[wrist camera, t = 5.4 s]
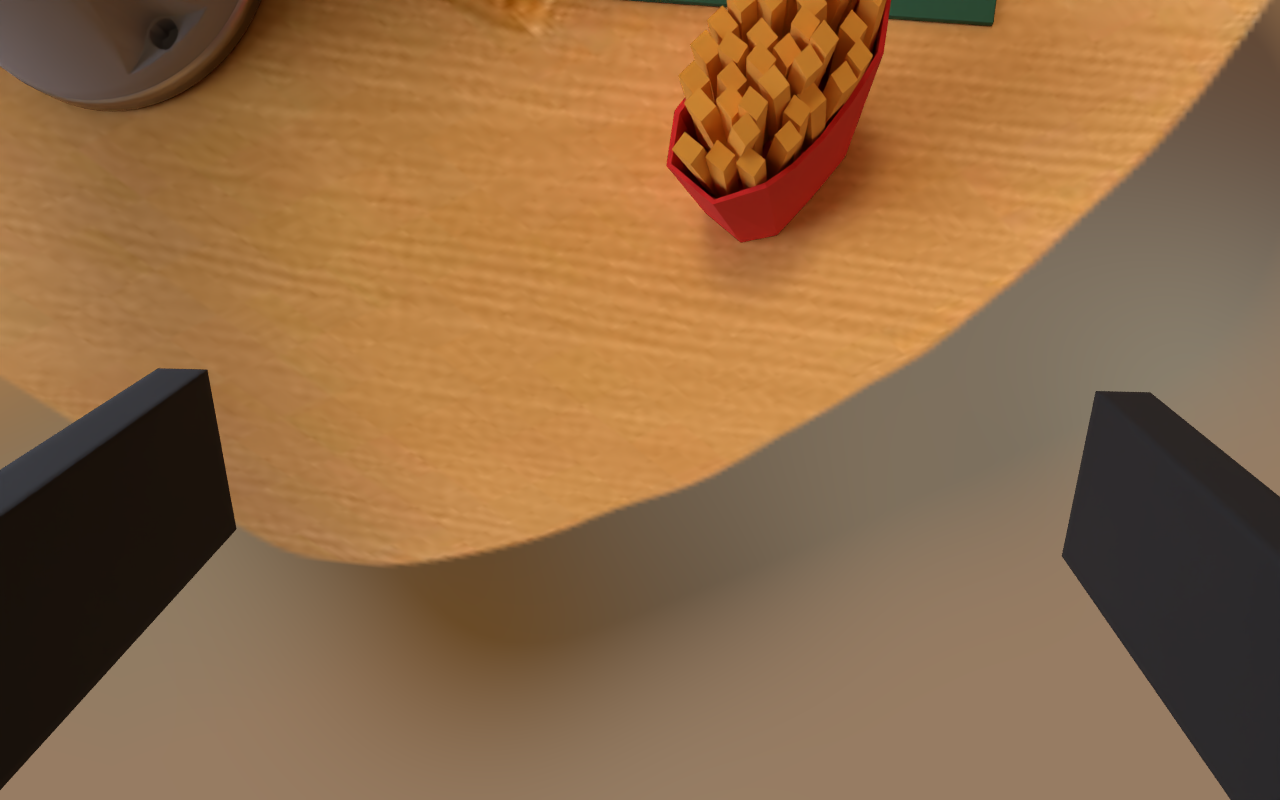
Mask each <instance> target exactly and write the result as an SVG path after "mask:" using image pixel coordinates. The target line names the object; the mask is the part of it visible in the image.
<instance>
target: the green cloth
mask: <svg viewBox="0 0 1280 800" xmlns="http://www.w3.org/2000/svg"><path fill="white" fill-rule="evenodd" d="M631 1H645V2H659V3H673V4H688V5H702V6H716V7H721V6H722V5H723V7H727V0H631ZM995 6H996V0H891V4H890V11H889V18H888V19H901V20H915V21H930V22H944V23H958V24H972V25H986V26H992V24H993V22H994V14H995Z"/></svg>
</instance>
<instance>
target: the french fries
mask: <svg viewBox="0 0 1280 800" xmlns="http://www.w3.org/2000/svg"><path fill="white" fill-rule="evenodd" d="M890 4H891V0H727V9H728V12H727V10H726V9H725V8H724V7H723V5H722V6H721V7H720V8H719V9H718V10H717V11H716V12H715V13H714V14H713V15H712V16H711V17H710V18H709V19H708V20H707V22H708V26H709V30H710V34H711V35H710V34H709V32H708V31H707V30H705V31H704V32H703V33H702V34H701V35H700V36H699V37H698V38H697V39H695V40H694V41H693V42H692V43H691V44H690V45H691V48H692V52H693V56H694V59H695V61H693V62H692V63H691V64H690V65H689V66H688V67H687V68H686V69H684V70H683V71H682V72H681V73H680V74H679V75H678V76H679V79H680V82H681V86H682V89H683V92H684V95H685V98H684V99H683V101H682V102H681V103H680V105H679V106H678V107H677V109H676V110H675V112H674V119H673V125H672V132H671V139H670V146H669V152H668V159H667V167H668V168H669V169H670V170H671V172H672V173H673V174H674V175H675V177H676V178H677V179H678V180H679V181H680V183H681V184H682V185H683V186H684V187H685V189H686V190H687V191H688V192H689V193H690V195H691V196H692V197H693V198H694V200H695V201H696V202H697V203H698V204H699V206H700V207H701V208H702V209H703V210H704V212H705V213H706V214H708V215H709V216H710V217H711V218H712V219H713V220H715V221H716V222H717V223H718V224H719V225H721V226H722V227H723V228H724V229H725V230H727V231H728V232H729V233H730V234H731V235H733V236H734V237H735V238H736V239H737V240H738V241H740V242H746V241H751V240H756V239H761V238H766V237H771V236H776V235H777V234H778V233H779V232H780V231H781V230H782V229H783V228H784V227H785V226H786V225H787V224H788V223H789V222H790V221H791V220H792V219H793V218H794V217H795V216H796V214H797V213H798V212H799V211H800V210H801V209H802V208H803V207H804V206H805V204H806V203H807V202H808V201H809V200H810V199H811V198H812V197H813V195H814V194H815V193H816V192H817V191H818V190H819V188H820V187H821V186H822V185H823V184H824V182H825V181H826V180H827V179H828V178H829V176H830V175H831V174H832V173H833V171H834V170H835V169H836V168H837V166H838V165H839V164H840V163H841V161H842V160H843V159H844V158H845V156H846V153H847V150H848V148H849V145H850V142H851V140H852V137H853V134H854V131H855V129H856V126H857V123H858V121H859V118H860V115H861V113H862V110H863V107H864V104H865V102H866V99H867V96H868V94H869V91H870V88H871V86H872V83H873V80H874V77H875V75H876V72H877V69H878V67H879V64H880V61H881V59H882V56H883V52H884V45H885V39H886V32H887V25H888V18H889V11H890Z"/></svg>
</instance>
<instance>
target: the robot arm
mask: <svg viewBox="0 0 1280 800" xmlns="http://www.w3.org/2000/svg"><path fill="white" fill-rule="evenodd" d="M260 1H261V0H0V66H1V67H2V68H3V69H5V70H6V71H8V72H9V73H10V74H12V75H13V76H15V77H16V78H18V79H19V80H21V81H22V82H24V83H25V84H27V85H29V86H31V87H33V88H35V89H37V90H39V91H41V92H43V93H45V94H47V95H49V96H52V97H54V98H56V99H58V100H60V101H63V102H66V103H68V104H71V105H74V106H78V107H82V108H86V109H93V110H102V111H120V110H131V109H137V108H142V107H146V106H150V105H153V104H157V103H159V102H162V101H164V100H167V99H169V98H172V97H174V96H176V95H178V94H180V93H182V92H184V91H185V90H187V89H188V88H190V87H192V86H193V85H195V84H196V83H198V82H199V81H200V80H202V79H203V78H204V77H206V76H207V75H208V74H209V73H211V72H212V71H213V70H214V69H215V68H216V67H217V66H218V65H219V64H220V63H221V62H222V61H223V60H224V59H225V58H226V57H227V56H228V54H229V53H230V52H231V51H232V50H233V48H234V47H235V46H236V44H237V43H238V42H239V40H240V39H241V38H242V36H243V34H244V33H245V31H246V30H247V28H248V26H249V25H250V23H251V21H252V19H253V17H254V15H255V13H256V11H257V9H258V6H259V3H260ZM235 530H236V524H235V519H234V513H233V508H232V502H231V497H230V491H229V486H228V480H227V475H226V469H225V464H224V458H223V453H222V447H221V442H220V436H219V431H218V425H217V420H216V414H215V409H214V403H213V398H212V392H211V387H210V381H209V376H208V370H201V369H160V368H158V369H156V370H155V371H153V372H152V373H150V374H149V375H147V376H145V377H144V378H142V379H141V380H139V381H138V382H136V383H135V384H133V385H131V386H130V387H128V388H127V389H125V390H124V391H122V392H121V393H119V394H117V395H116V396H114V397H113V398H111V399H110V400H108V401H107V402H105V403H103V404H102V405H100V406H99V407H97V408H96V409H94V410H93V411H91V412H89V413H88V414H86V415H85V416H83V417H82V418H80V419H79V420H77V421H75V422H74V423H72V424H71V425H69V426H68V427H66V428H65V429H63V430H62V431H60V432H58V433H57V434H55V435H54V436H52V437H51V438H49V439H47V440H46V441H44V442H43V443H41V444H40V445H38V446H37V447H35V448H34V449H32V450H30V451H29V452H27V453H26V454H24V455H23V456H21V457H19V458H18V459H16V460H15V461H13V462H12V463H10V464H9V465H7V466H5V467H4V468H2V469H1V470H0V790H1V789H2V788H3V786H4V785H5V784H6V783H7V782H8V781H9V780H10V779H11V778H12V776H13V775H14V774H15V773H16V772H17V771H18V770H19V769H20V768H21V767H22V766H23V764H24V763H25V762H26V761H27V760H28V759H29V758H30V756H31V755H32V754H33V753H34V752H35V751H36V750H37V749H38V748H39V747H40V746H41V744H42V743H43V742H44V741H45V740H46V739H47V738H48V737H49V736H50V735H51V733H52V732H53V731H54V730H55V729H56V728H57V727H58V726H59V725H60V724H61V722H62V721H63V720H64V719H65V718H66V717H67V716H68V715H69V714H70V712H71V711H72V710H73V709H74V708H75V707H76V706H77V705H78V704H79V703H80V701H81V700H82V699H83V698H84V697H85V696H86V695H87V694H88V692H89V691H90V690H91V689H92V688H93V687H94V686H95V685H96V684H97V683H98V681H99V680H100V679H101V678H102V677H103V676H104V675H105V674H106V673H107V671H108V670H109V669H110V668H111V667H112V666H113V665H114V664H115V663H116V662H117V660H118V659H119V658H120V657H121V656H122V655H123V654H124V653H125V652H126V650H127V649H128V648H129V647H130V646H131V645H132V644H133V643H134V642H135V641H136V639H137V638H138V637H139V636H140V635H141V634H142V633H143V632H144V630H146V629H147V627H148V626H149V625H150V624H151V623H152V622H153V621H154V620H155V618H156V617H157V616H158V615H159V614H160V613H161V612H162V611H163V610H164V609H165V607H166V606H167V605H168V604H169V603H170V602H171V601H172V600H173V599H174V597H175V596H176V595H177V594H178V593H179V592H180V591H181V590H182V589H183V588H184V587H185V585H186V584H187V583H188V582H189V581H190V580H191V579H192V578H193V576H194V575H195V574H196V573H197V572H198V571H199V570H200V569H201V568H202V567H203V566H204V564H205V563H206V562H207V561H208V560H209V559H210V558H211V557H212V555H213V554H214V553H215V552H216V551H217V550H218V549H219V548H220V547H221V545H223V543H224V542H225V541H226V540H227V539H228V538H229V537H230V536H231V535H232V533H233V532H234V531H235ZM1062 557H1063V558H1064V560H1065V561H1066V563H1067V564H1068V566H1069V567H1070V569H1071V570H1072V571H1073V573H1074V574H1075V576H1076V577H1077V579H1078V580H1079V581H1080V583H1081V584H1082V586H1083V587H1084V589H1085V590H1086V591H1087V593H1088V594H1089V595H1090V597H1091V599H1092V600H1093V602H1094V603H1095V604H1096V606H1097V607H1098V609H1099V610H1100V612H1101V613H1102V615H1103V616H1104V617H1105V619H1106V620H1107V622H1108V623H1109V625H1110V626H1111V628H1112V629H1113V631H1114V632H1115V633H1116V635H1117V636H1118V638H1119V639H1120V641H1121V642H1122V643H1123V645H1124V646H1125V648H1126V649H1127V651H1128V652H1129V654H1130V655H1131V656H1132V658H1133V659H1134V661H1135V662H1136V664H1137V665H1138V667H1139V668H1140V669H1141V671H1142V672H1143V674H1144V675H1145V677H1146V678H1147V680H1148V681H1149V682H1150V684H1151V685H1152V687H1153V688H1154V689H1155V691H1156V693H1157V694H1158V696H1159V697H1160V698H1161V700H1162V701H1163V703H1164V704H1165V705H1166V707H1167V708H1168V710H1169V711H1170V713H1171V714H1172V716H1173V717H1174V719H1175V720H1176V721H1177V723H1178V724H1179V726H1180V727H1181V729H1182V730H1183V732H1184V733H1185V734H1186V736H1187V737H1188V739H1189V740H1190V742H1191V743H1192V744H1193V746H1194V747H1195V749H1196V750H1197V752H1198V753H1199V755H1200V756H1201V758H1202V759H1203V760H1204V762H1205V763H1206V765H1207V766H1208V768H1209V769H1210V771H1211V772H1212V773H1213V775H1214V776H1215V778H1216V779H1217V781H1218V782H1219V783H1220V785H1221V786H1222V788H1223V789H1224V791H1225V792H1226V794H1227V795H1228V797H1229V798H1230V799H1231V800H1280V497H1279V496H1278V495H1277V494H1275V493H1274V492H1273V491H1272V490H1270V489H1269V488H1268V487H1267V486H1266V485H1264V484H1263V483H1262V482H1261V481H1259V480H1258V479H1257V478H1256V477H1254V476H1253V475H1252V474H1251V473H1249V472H1248V471H1247V470H1246V469H1244V468H1243V467H1242V466H1241V465H1239V464H1238V463H1237V462H1236V461H1235V460H1233V459H1232V458H1231V457H1230V456H1228V455H1227V454H1226V453H1224V452H1223V451H1222V450H1221V449H1220V448H1218V447H1217V446H1216V445H1215V444H1213V443H1212V442H1211V441H1210V440H1208V439H1207V438H1206V437H1205V436H1204V435H1202V434H1201V433H1200V432H1198V431H1197V430H1196V429H1195V428H1194V427H1192V426H1191V425H1190V424H1189V423H1187V422H1186V421H1185V420H1184V419H1182V418H1181V417H1180V416H1178V415H1177V414H1176V413H1175V412H1174V411H1172V410H1171V409H1170V408H1169V407H1168V406H1166V405H1165V404H1164V403H1163V402H1161V401H1160V400H1159V399H1158V398H1156V397H1155V396H1154V395H1153V394H1151V393H1149V392H1148V393H1147V392H1110V391H1108V392H1107V391H1096V392H1095V397H1094V402H1093V407H1092V412H1091V417H1090V422H1089V427H1088V432H1087V436H1086V441H1085V446H1084V451H1083V456H1082V461H1081V465H1080V470H1079V475H1078V480H1077V485H1076V490H1075V495H1074V500H1073V504H1072V510H1071V514H1070V519H1069V524H1068V529H1067V534H1066V539H1065V543H1064V548H1063V553H1062Z"/></svg>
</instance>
